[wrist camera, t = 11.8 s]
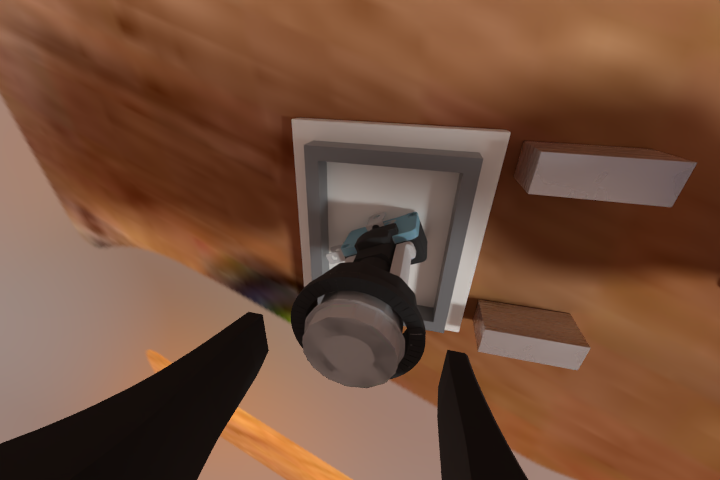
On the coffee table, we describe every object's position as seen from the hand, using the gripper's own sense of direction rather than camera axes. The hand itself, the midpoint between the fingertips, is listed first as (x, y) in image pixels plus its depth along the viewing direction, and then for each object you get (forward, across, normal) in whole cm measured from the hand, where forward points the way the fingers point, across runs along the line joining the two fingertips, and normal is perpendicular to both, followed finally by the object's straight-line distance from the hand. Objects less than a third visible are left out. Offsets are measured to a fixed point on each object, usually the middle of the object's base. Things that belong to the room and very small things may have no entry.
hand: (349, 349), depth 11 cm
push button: (+10, 0, 0) cm, 10 cm away
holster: (+10, -10, 0) cm, 14 cm away
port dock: (+10, 0, 0) cm, 10 cm away
